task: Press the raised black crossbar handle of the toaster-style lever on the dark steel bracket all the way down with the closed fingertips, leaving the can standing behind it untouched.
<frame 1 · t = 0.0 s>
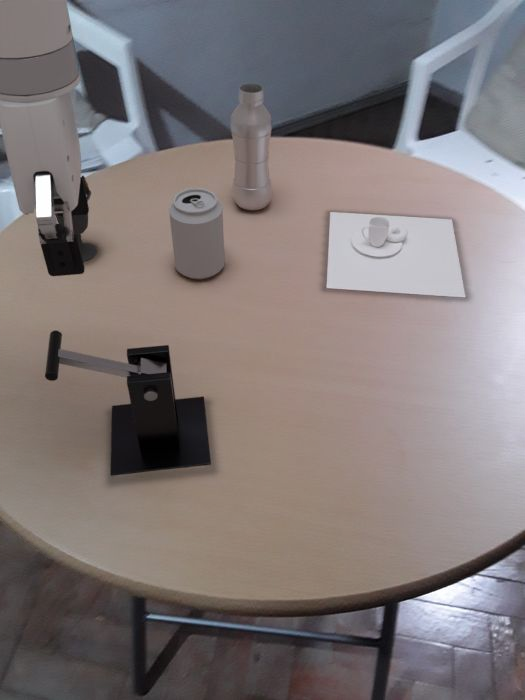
hand: (70, 242, 66), 24 cm above the table, tool pointing down, fingers open, 9 cm apart
sundae: (80, 253, 105), on the table
toaster bracket: (160, 439, 79), on the table
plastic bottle: (252, 205, 115), on the table
teacup and saucer: (392, 252, 106), on the table
can: (200, 268, 103), on the table
toaster lever: (107, 366, 70), point 13 cm above the table, hinge at 25.0°
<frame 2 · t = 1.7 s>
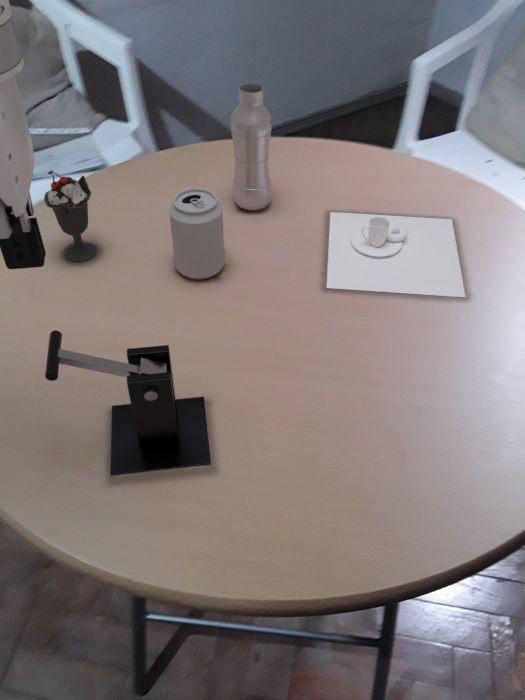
hand: (27, 262, 59), 27 cm above the table, tool pointing down, fingers closed
nothing on the table moved.
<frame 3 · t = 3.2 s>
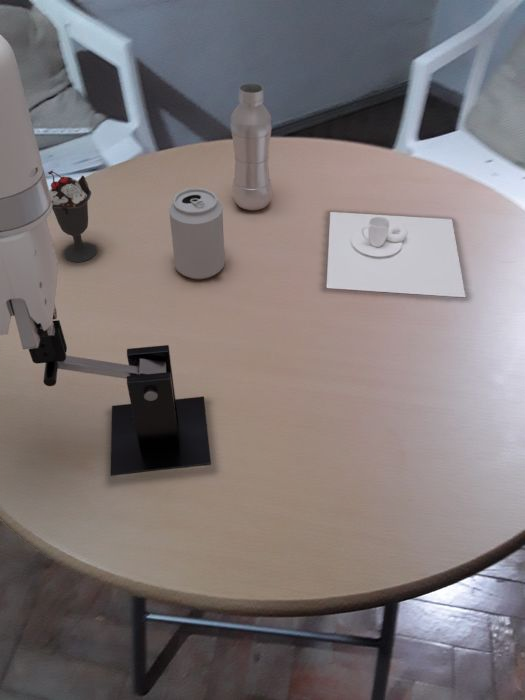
hand: (50, 356, 68), 15 cm above the table, tool pointing down, fingers closed
toaster lever: (106, 368, 70), point 13 cm above the table, hinge at 20.4°, touching gripper
everything else where it was.
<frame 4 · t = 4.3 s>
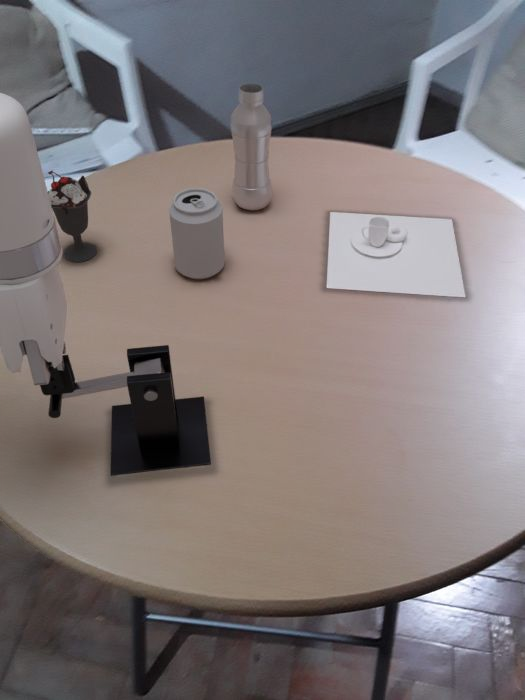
hand: (59, 388, 71), 10 cm above the table, tool pointing down, fingers closed
toaster lever: (107, 383, 71), point 10 cm above the table, hinge at -7.6°, touching gripper
everything else where it was.
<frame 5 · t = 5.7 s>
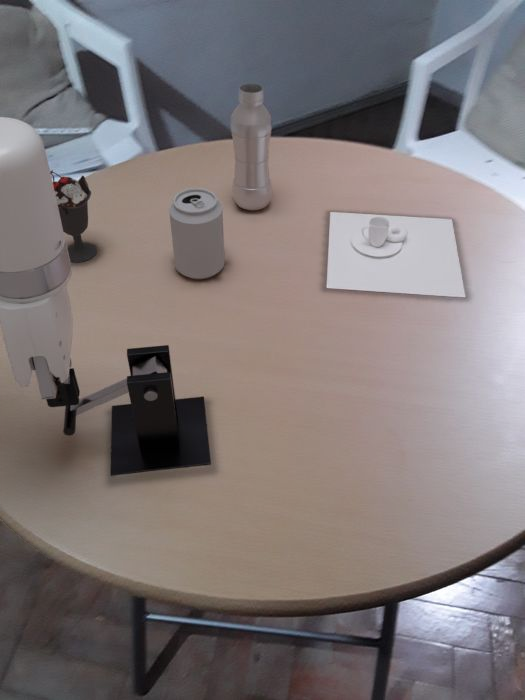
hand: (64, 400, 72), 8 cm above the table, tool pointing down, fingers closed
toaster lever: (113, 391, 72), point 9 cm above the table, hinge at -25.7°
everything else where it was.
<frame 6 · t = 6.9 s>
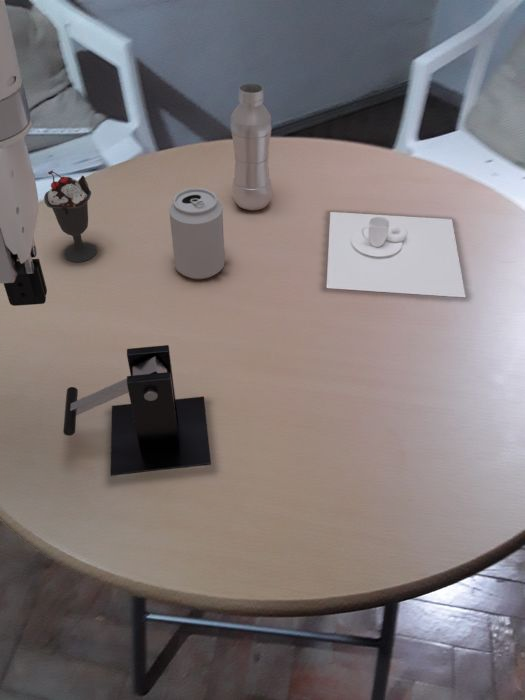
hand: (29, 298, 63), 22 cm above the table, tool pointing down, fingers closed
nothing on the table moved.
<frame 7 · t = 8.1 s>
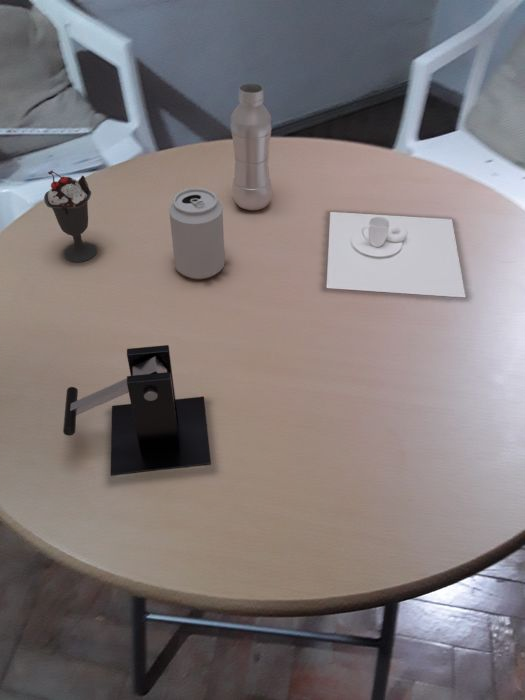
nothing on the table moved.
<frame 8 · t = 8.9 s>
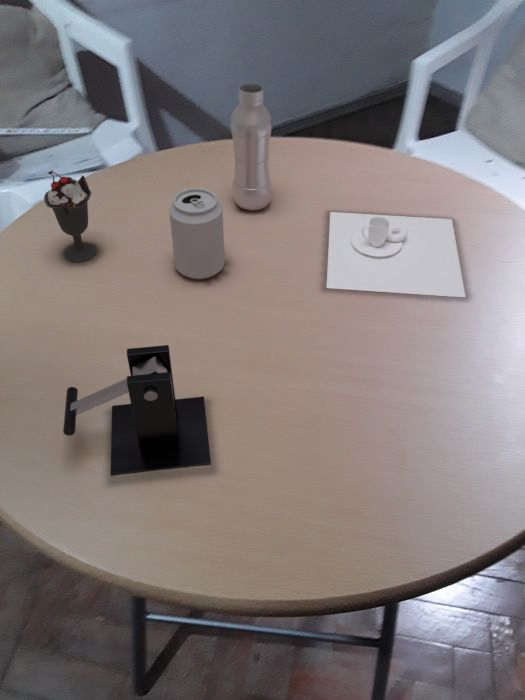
nothing on the table moved.
at the end: toaster lever at -26° (first picture: +25°); toaster lever reached -26° during the clip, -26° at the end; can moved 0.2 cm from its start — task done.
